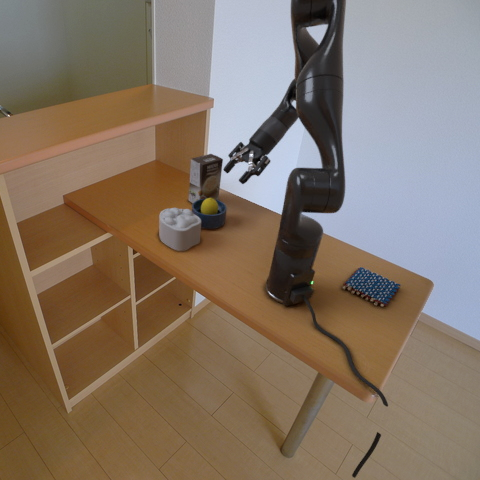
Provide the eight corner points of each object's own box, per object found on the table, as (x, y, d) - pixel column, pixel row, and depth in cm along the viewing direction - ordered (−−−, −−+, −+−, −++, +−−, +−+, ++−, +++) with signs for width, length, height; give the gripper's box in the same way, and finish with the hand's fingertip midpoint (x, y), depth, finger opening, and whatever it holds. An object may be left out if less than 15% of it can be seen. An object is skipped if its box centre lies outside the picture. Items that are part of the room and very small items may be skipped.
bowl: (231, 226, 116) (232, 211, 113) (199, 233, 113) (200, 218, 110) (215, 210, 125) (216, 196, 121) (186, 216, 122) (186, 201, 118)
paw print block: (179, 253, 104) (180, 228, 99) (151, 234, 112) (150, 210, 107) (204, 240, 110) (206, 215, 105) (175, 223, 118) (175, 199, 113)
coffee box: (199, 208, 126) (201, 165, 117) (188, 200, 130) (189, 158, 121) (219, 200, 130) (223, 158, 121) (207, 194, 134) (211, 152, 125)
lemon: (216, 224, 116) (218, 202, 111) (199, 222, 117) (200, 201, 112) (217, 215, 120) (219, 194, 116) (201, 214, 121) (202, 193, 117)
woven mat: (357, 270, 98) (359, 264, 97) (399, 289, 92) (402, 283, 91) (340, 288, 92) (342, 282, 91) (383, 310, 86) (386, 304, 85)
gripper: (248, 121, 113) (214, 162, 116) (278, 135, 103) (240, 179, 106) (259, 135, 118) (226, 174, 121) (289, 150, 108) (252, 192, 110)
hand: (232, 177), depth 113 cm, fingers open, 8 cm apart
